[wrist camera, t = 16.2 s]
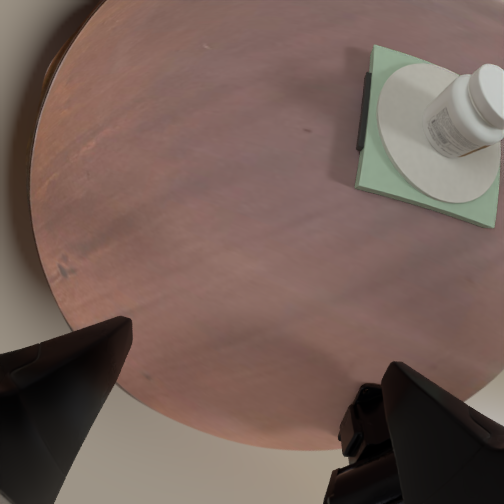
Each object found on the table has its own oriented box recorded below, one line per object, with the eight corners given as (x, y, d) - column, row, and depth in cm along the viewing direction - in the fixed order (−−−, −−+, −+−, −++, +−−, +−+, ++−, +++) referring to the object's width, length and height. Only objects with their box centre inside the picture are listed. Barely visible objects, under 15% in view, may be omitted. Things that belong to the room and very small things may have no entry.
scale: (488, 100, 16) (501, 91, 14) (483, 227, 18) (499, 228, 16) (365, 53, 18) (370, 38, 16) (349, 187, 20) (354, 182, 18)
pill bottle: (465, 169, 16) (531, 148, 8) (416, 143, 16) (469, 104, 9) (473, 119, 15) (529, 83, 8) (425, 92, 16) (471, 41, 8)
